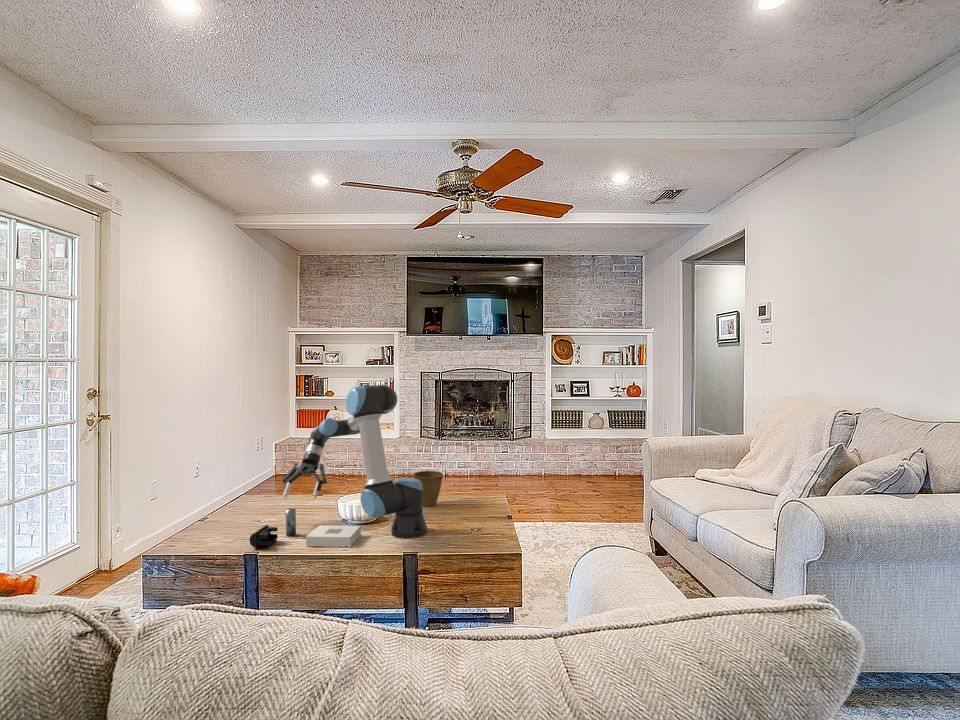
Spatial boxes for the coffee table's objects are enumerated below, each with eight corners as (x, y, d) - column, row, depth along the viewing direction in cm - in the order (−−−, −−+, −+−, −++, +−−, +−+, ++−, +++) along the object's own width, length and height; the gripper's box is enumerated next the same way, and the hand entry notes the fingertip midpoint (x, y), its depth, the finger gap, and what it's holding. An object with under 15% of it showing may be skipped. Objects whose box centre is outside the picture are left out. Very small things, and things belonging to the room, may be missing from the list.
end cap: (261, 540, 221) (261, 524, 221) (278, 541, 220) (277, 524, 220) (249, 549, 211) (249, 532, 211) (266, 550, 210) (266, 532, 210)
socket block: (360, 535, 226) (360, 525, 226) (350, 547, 212) (350, 537, 212) (319, 534, 227) (319, 525, 227) (306, 546, 213) (306, 536, 213)
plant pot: (410, 508, 264) (409, 476, 264) (418, 500, 279) (417, 470, 278) (439, 510, 261) (438, 477, 261) (446, 501, 276) (445, 470, 276)
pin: (297, 533, 229) (297, 508, 229) (293, 536, 225) (293, 510, 225) (288, 533, 229) (288, 508, 229) (284, 536, 225) (284, 510, 225)
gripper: (340, 460, 253) (329, 501, 239) (289, 460, 255) (275, 500, 241) (336, 451, 248) (324, 492, 233) (284, 451, 250) (269, 491, 235)
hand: (299, 496), depth 237 cm, fingers open, 13 cm apart
